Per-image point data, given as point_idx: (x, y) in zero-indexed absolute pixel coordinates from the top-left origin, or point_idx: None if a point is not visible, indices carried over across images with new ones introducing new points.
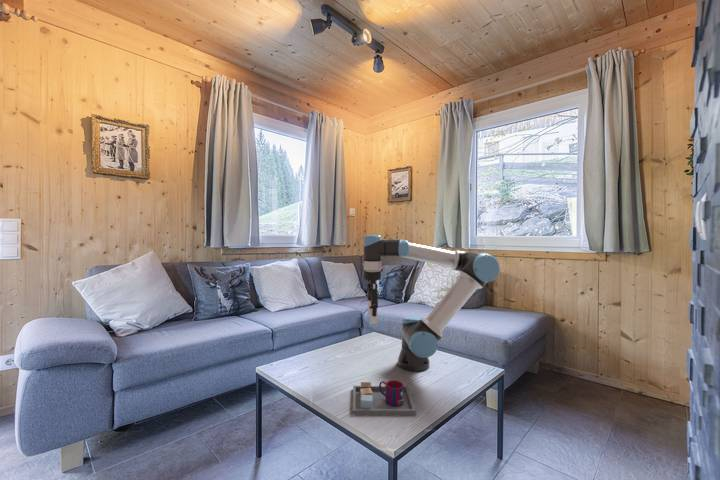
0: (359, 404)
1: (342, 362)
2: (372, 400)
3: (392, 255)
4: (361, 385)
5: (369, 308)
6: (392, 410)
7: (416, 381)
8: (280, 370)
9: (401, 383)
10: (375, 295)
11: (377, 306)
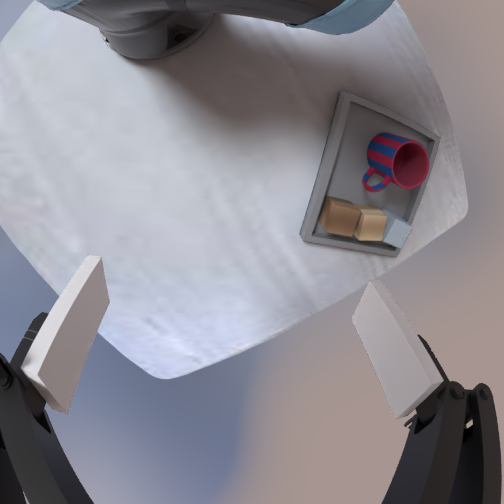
0: None
1: (114, 239)
2: (397, 218)
3: None
4: (345, 234)
5: (86, 336)
6: (426, 183)
7: (285, 39)
8: (168, 359)
9: (410, 142)
10: (487, 488)
11: (489, 393)
